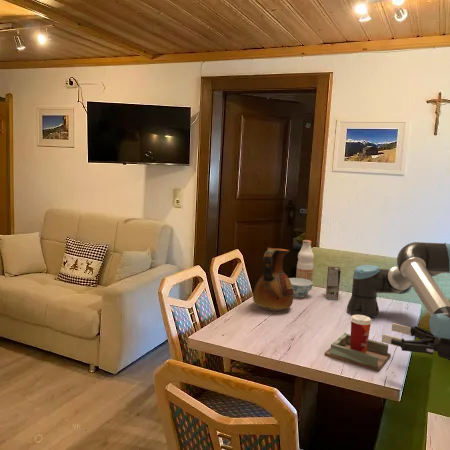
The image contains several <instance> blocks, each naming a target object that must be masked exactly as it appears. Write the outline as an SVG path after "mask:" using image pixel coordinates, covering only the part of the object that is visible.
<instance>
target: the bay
mask: <svg viewBox="0 0 450 450" xmlns="http://www.w3.org/2000/svg"><path fill="white" fill-rule="evenodd" d="M350 340H351V333H350V334H349V333H347V332H344V333H343V334H342V335H341V336H340V337H338V338H337V339H335V341H334V342H333V343H331V344H330V348H328V349H327V350H325V352H324V354H323V355H324V356H326V357H329V358H333V359H336V360H340V361H342V362H346V363H350V364H353V365H356V366H359V367H362V368H366V369H369V370H372V371H376V372H379V371H380V370H381V369H382V368H383V367H384V365H385V364H386V362H387V361H388V360H389V358H390V357H391V353H389V344H388V343H384V342H380V341H376V340H371V339H369V338H368V344H367V350H366V353H364V352H360V351H357V350H353V349H350Z"/></svg>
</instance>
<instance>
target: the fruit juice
mask: <svg viewBox="0 0 450 450" xmlns="http://www.w3.org/2000/svg"><path fill="white" fill-rule="evenodd" d="M311 245H312V240H308V239H304V240H302V246H301V248H300V250H299V251H298V253H297V259H298V260H297V264H296V274H295V278H302V279H307V280H310V281H312V282H313V280H314V277H313V275H314V259H315V255H314V252H313V248H312V246H311ZM312 289H313V287H312V288H311V290H312Z"/></svg>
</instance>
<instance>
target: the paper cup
mask: <svg viewBox="0 0 450 450" xmlns="http://www.w3.org/2000/svg"><path fill="white" fill-rule="evenodd" d="M372 323H373V322H372V318H369V317H367V316H364V315H352V316H351V318H350V335H351V340H350V349H353V350H357V351H360V352H364V353H366V350H367V344H368V339H369V337H370V331H371V324H372Z"/></svg>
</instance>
